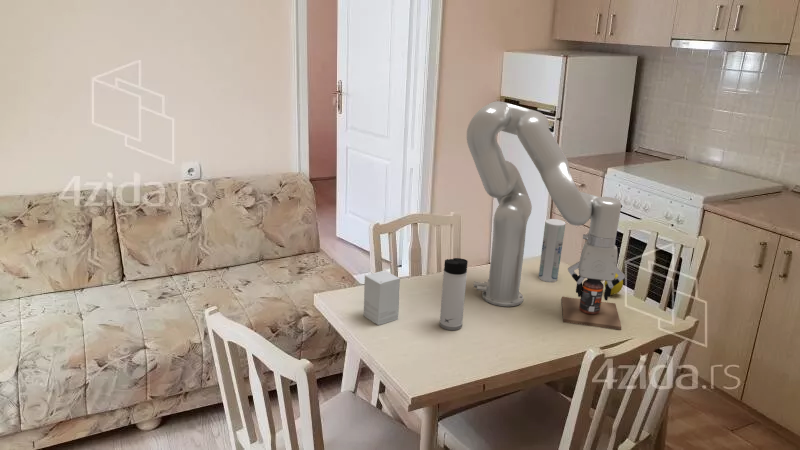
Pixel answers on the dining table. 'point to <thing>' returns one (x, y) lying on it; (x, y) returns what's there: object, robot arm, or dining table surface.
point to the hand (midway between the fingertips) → (592, 296)
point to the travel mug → (453, 293)
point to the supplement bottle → (591, 296)
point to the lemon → (616, 286)
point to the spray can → (551, 250)
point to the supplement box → (381, 297)
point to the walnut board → (602, 319)
